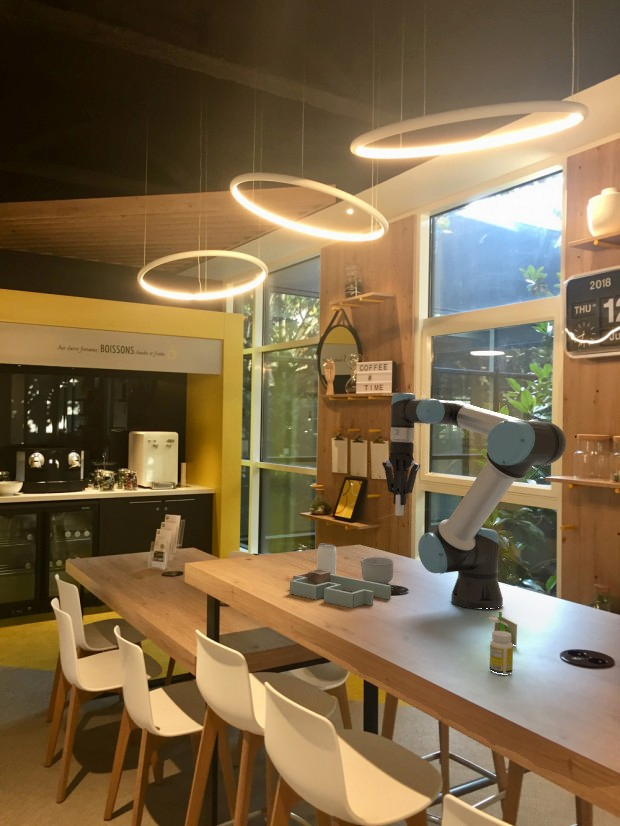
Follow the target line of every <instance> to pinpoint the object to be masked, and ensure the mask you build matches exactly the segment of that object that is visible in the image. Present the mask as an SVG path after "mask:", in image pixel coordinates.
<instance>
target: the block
mask: <svg viewBox="0 0 620 826" xmlns="http://www.w3.org/2000/svg"><path fill="white" fill-rule="evenodd" d="M308 572H309V573H308V584H312V585H318V584H322V583H326V582H330V572H328V571H322V570H317V569H316V570H314V569H313V570H310V571H308Z"/></svg>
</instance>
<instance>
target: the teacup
mask: <svg viewBox="0 0 620 826" xmlns="http://www.w3.org/2000/svg"><path fill="white" fill-rule="evenodd" d="M394 562H395V561H394V560H393V559H391V558H388V557H380V556H374V557H373V556H372V557H366V556H365V557H362V558H361V559H360V566H361V577H362V580H364V581H369V582H374V583H379V584H384V585H388V584H389V583H390V582H391V581H392V580H393V577H394V564H395V563H394Z"/></svg>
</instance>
